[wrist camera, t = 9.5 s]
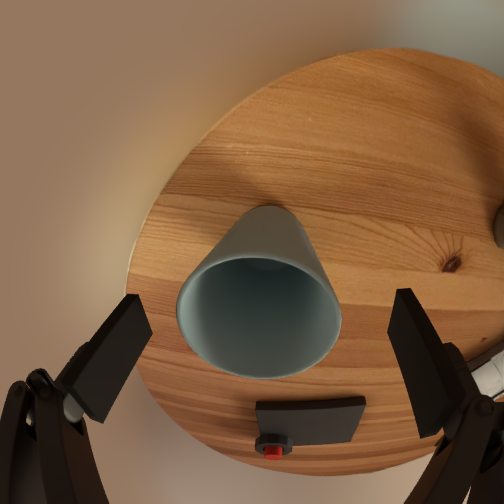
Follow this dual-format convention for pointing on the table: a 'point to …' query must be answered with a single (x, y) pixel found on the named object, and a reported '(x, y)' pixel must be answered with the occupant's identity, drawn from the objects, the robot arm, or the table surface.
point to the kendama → (499, 228)
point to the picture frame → (489, 371)
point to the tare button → (273, 453)
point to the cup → (260, 300)
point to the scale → (307, 422)
